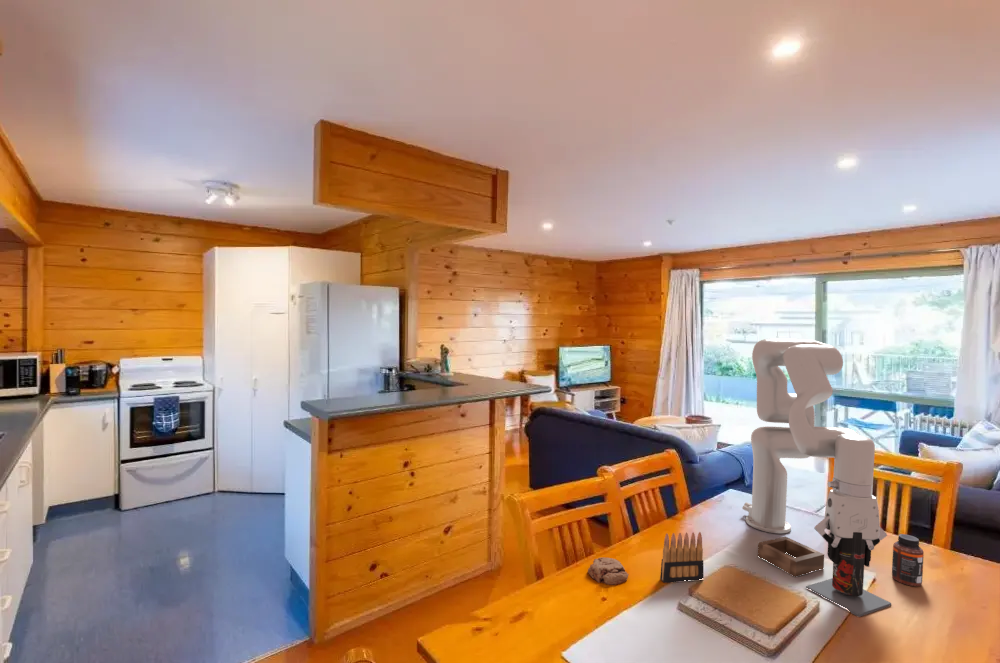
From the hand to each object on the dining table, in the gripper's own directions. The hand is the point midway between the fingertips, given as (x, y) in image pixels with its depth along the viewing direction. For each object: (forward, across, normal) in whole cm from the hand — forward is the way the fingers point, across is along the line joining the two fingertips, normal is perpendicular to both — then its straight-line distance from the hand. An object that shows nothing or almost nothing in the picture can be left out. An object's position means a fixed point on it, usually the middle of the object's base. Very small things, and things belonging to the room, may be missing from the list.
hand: (848, 561), depth 115 cm
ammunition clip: (+9, -38, +1) cm, 39 cm away
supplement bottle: (+9, +20, +10) cm, 24 cm away
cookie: (+9, -56, +1) cm, 57 cm away
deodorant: (+7, 0, 0) cm, 7 cm away
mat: (+8, 0, 0) cm, 8 cm away
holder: (+8, -6, +15) cm, 18 cm away
